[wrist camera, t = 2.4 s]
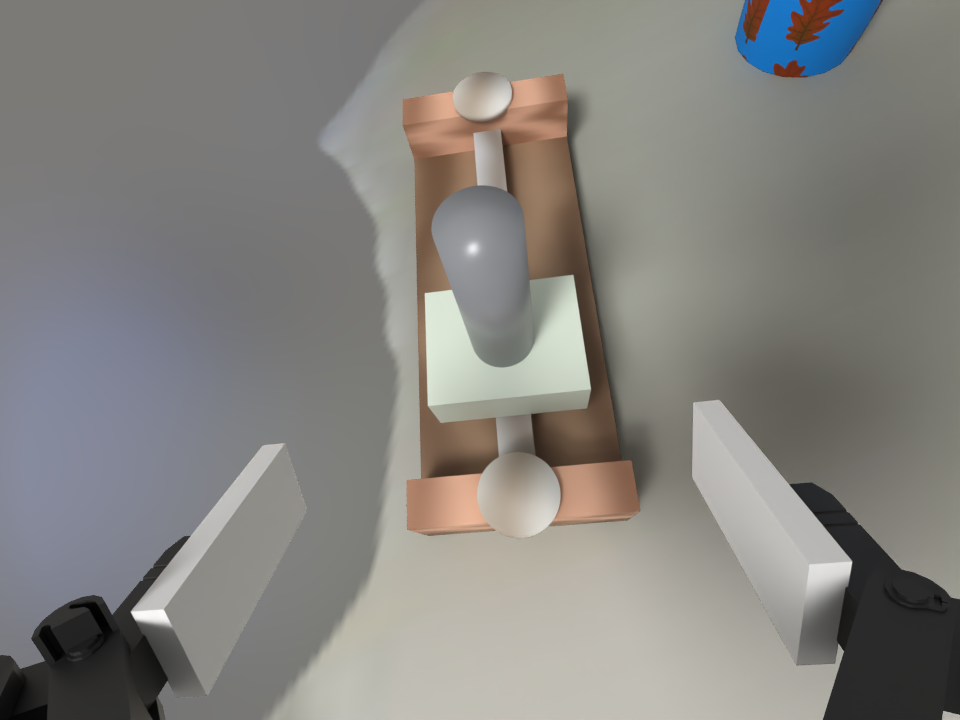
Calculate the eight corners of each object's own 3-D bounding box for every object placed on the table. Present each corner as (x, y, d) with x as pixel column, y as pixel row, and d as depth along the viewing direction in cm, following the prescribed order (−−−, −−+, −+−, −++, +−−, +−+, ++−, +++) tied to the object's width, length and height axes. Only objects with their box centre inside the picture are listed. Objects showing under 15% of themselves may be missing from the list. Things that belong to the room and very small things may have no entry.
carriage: (571, 303, 38) (582, 134, 23) (587, 408, 35) (611, 289, 20) (437, 319, 39) (365, 166, 24) (440, 422, 36) (362, 320, 21)
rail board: (561, 120, 50) (561, 59, 44) (629, 535, 36) (645, 528, 30) (418, 142, 52) (400, 85, 45) (429, 550, 37) (404, 546, 31)
